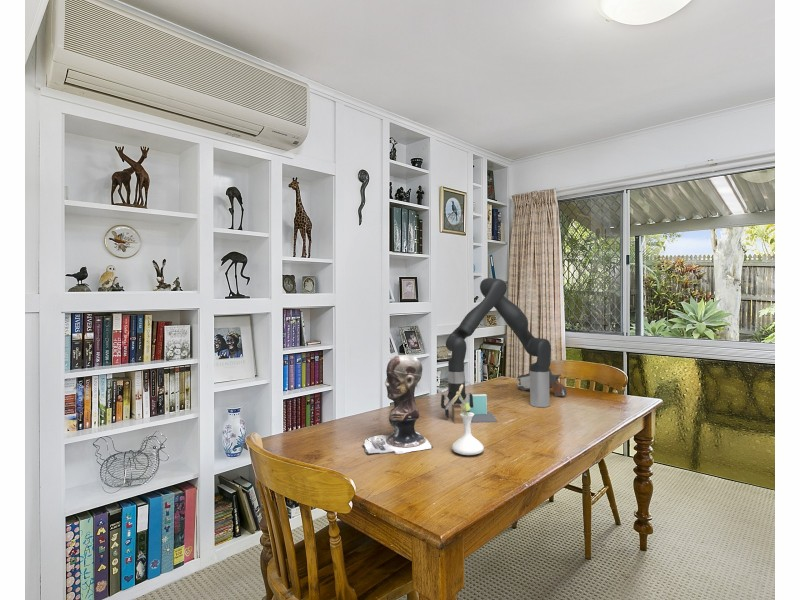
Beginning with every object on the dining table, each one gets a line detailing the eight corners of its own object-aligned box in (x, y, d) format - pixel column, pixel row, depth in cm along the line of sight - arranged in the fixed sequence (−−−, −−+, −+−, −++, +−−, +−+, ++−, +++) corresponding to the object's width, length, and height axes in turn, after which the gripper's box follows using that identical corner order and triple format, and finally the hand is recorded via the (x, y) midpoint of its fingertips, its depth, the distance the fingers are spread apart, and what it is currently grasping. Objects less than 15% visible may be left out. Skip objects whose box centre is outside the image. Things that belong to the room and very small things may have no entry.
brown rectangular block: (451, 417, 205) (451, 404, 205) (459, 417, 205) (459, 404, 205) (454, 423, 195) (454, 410, 195) (462, 423, 195) (462, 410, 195)
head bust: (354, 438, 176) (361, 350, 176) (413, 436, 185) (420, 351, 185) (370, 458, 156) (378, 358, 156) (435, 455, 165) (443, 360, 165)
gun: (526, 400, 257) (519, 374, 260) (568, 394, 237) (560, 366, 240) (521, 401, 254) (514, 375, 257) (563, 395, 234) (555, 367, 237)
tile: (466, 413, 208) (466, 394, 207) (486, 413, 208) (485, 394, 207) (467, 415, 206) (467, 395, 206) (487, 414, 206) (486, 395, 206)
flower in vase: (462, 444, 169) (461, 378, 168) (489, 450, 161) (488, 381, 161) (443, 454, 158) (441, 384, 158) (471, 462, 151) (469, 388, 151)
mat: (460, 413, 210) (460, 412, 210) (490, 413, 210) (490, 412, 210) (465, 422, 196) (465, 421, 196) (497, 421, 196) (497, 420, 196)
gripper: (471, 379, 203) (471, 414, 204) (439, 379, 203) (440, 415, 204) (473, 382, 196) (474, 419, 196) (441, 383, 196) (442, 420, 196)
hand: (457, 417), depth 200 cm, fingers open, 8 cm apart
